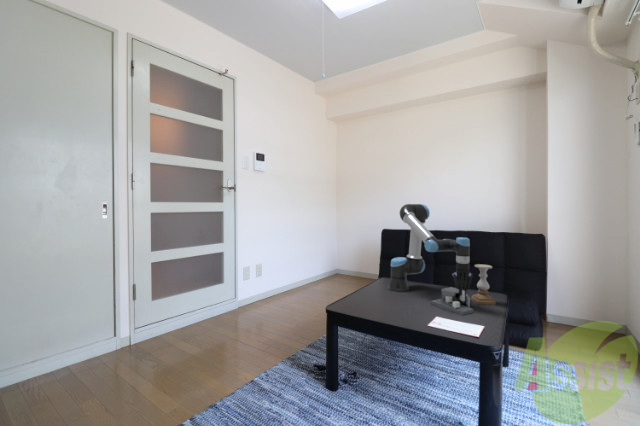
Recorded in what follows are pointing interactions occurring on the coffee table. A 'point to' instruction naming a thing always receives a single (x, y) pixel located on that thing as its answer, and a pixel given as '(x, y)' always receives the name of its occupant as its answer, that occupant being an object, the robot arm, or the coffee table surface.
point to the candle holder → (483, 287)
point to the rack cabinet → (451, 294)
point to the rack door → (468, 300)
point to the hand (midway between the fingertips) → (462, 300)
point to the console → (449, 306)
